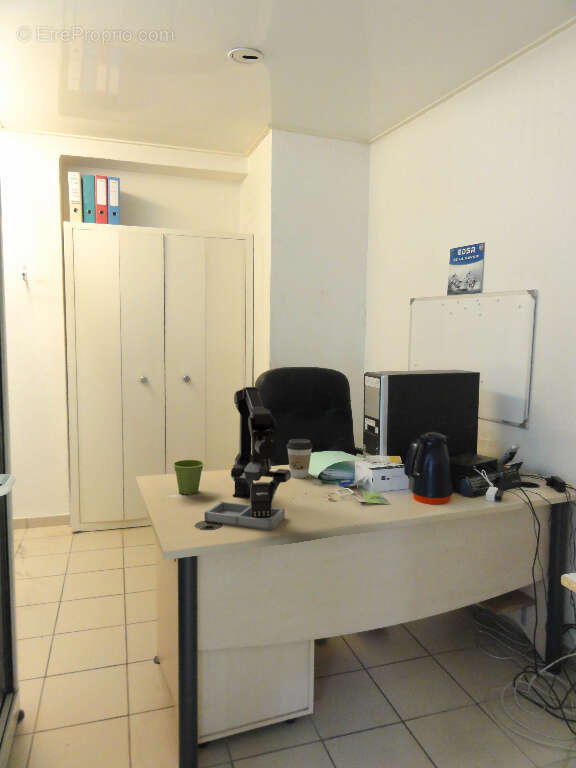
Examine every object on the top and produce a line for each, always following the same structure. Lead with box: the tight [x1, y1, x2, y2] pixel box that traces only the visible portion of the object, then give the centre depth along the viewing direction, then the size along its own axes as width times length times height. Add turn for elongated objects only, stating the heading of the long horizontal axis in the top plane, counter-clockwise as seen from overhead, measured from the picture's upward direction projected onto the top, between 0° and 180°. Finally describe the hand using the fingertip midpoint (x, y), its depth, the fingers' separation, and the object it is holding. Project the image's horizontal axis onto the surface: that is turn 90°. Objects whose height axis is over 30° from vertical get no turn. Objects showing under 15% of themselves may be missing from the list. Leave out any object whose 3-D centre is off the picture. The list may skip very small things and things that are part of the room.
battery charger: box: [249, 481, 273, 518], centre depth 173 cm, size 7×4×11 cm, turn 96°
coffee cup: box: [286, 438, 314, 479], centre depth 229 cm, size 11×11×15 cm
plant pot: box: [172, 459, 205, 495], centre depth 204 cm, size 12×12×11 cm
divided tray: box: [204, 501, 285, 532], centre depth 176 cm, size 23×12×3 cm, turn 71°
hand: (260, 499), depth 173 cm, fingers closed on battery charger, 7 cm apart
